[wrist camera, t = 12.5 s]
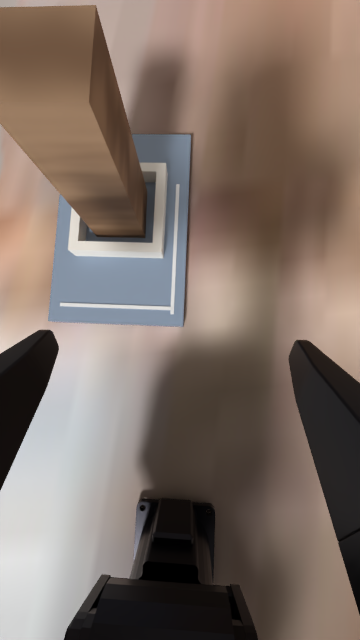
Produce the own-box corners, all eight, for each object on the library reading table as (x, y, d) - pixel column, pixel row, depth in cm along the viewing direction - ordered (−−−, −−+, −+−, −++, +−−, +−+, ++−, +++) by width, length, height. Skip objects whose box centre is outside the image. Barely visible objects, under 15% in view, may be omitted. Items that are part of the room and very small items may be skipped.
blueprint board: (183, 326, 23) (182, 324, 21) (54, 321, 24) (38, 319, 21) (190, 143, 25) (191, 120, 22) (70, 141, 25) (57, 119, 23)
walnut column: (145, 237, 23) (88, 101, 10) (97, 237, 23) (-18, 102, 10) (147, 191, 24) (95, 5, 11) (100, 191, 24) (-7, 7, 11)
